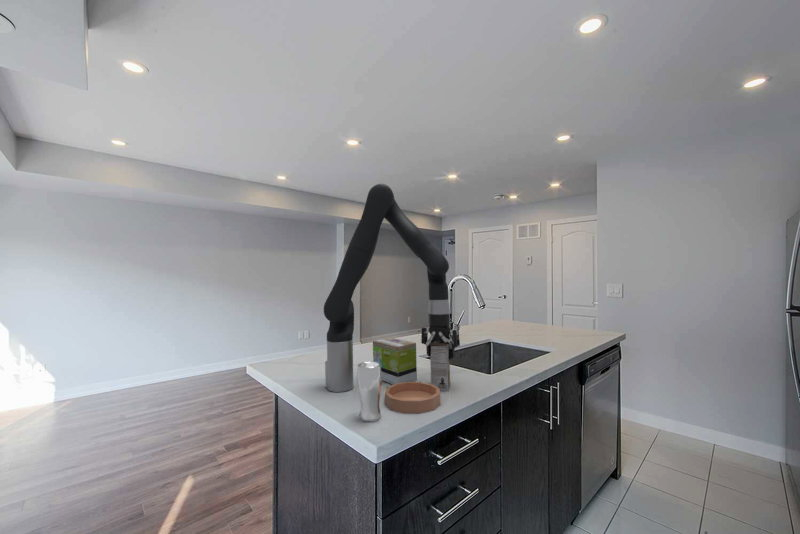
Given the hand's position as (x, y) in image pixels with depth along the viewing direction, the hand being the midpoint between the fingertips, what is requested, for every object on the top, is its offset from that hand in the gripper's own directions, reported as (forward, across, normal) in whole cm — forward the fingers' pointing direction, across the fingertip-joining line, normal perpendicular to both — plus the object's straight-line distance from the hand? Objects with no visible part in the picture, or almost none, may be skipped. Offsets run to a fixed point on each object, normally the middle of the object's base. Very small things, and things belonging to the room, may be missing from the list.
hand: (440, 357), depth 119 cm
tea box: (+10, -19, -2) cm, 22 cm away
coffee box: (+11, 0, 0) cm, 11 cm away
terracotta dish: (+10, -1, -17) cm, 20 cm away
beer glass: (+10, -5, -33) cm, 35 cm away
